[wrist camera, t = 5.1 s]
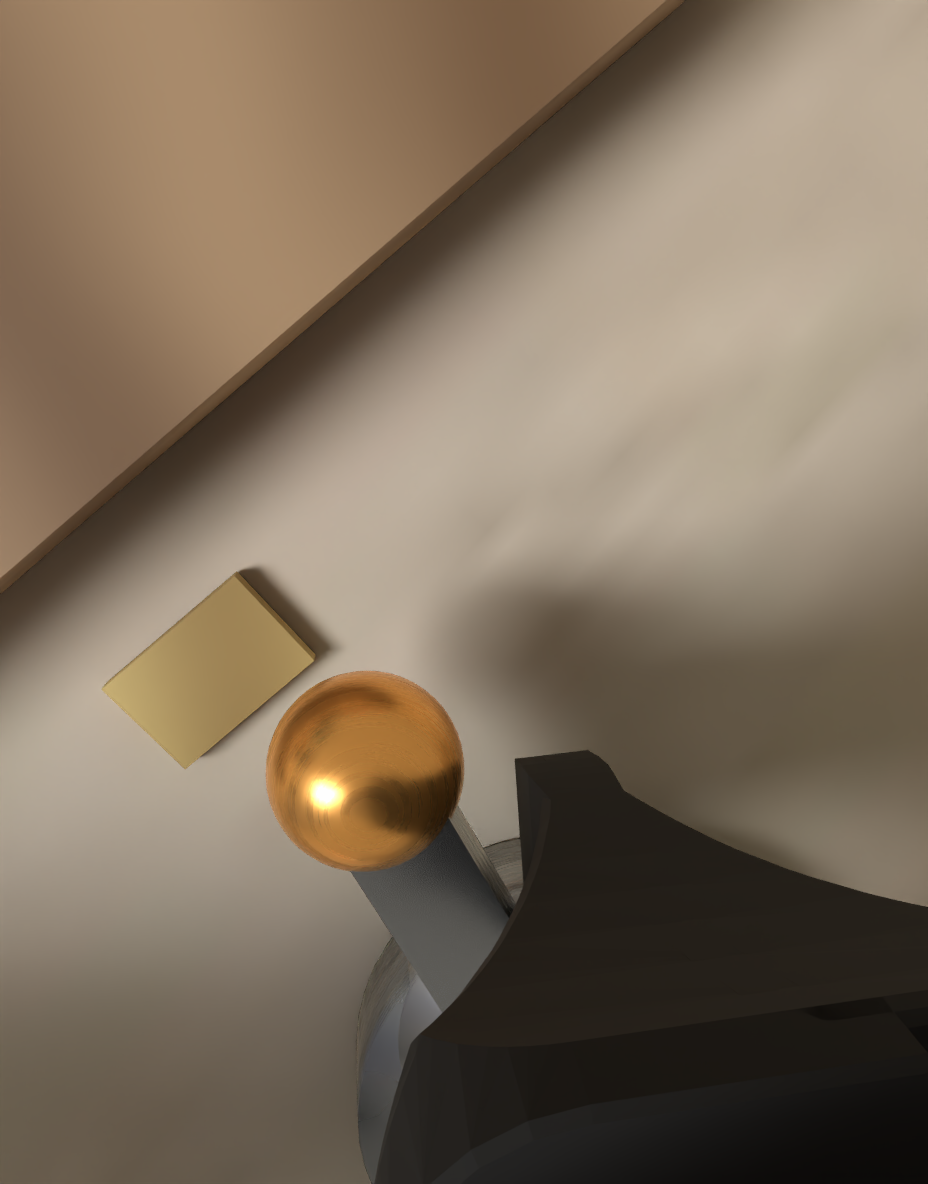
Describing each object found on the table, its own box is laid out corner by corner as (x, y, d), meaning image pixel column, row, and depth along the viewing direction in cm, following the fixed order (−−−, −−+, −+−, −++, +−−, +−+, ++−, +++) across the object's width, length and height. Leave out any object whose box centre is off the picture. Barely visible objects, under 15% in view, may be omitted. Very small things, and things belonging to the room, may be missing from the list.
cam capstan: (1029, 1020, 16) (1263, 1238, 12) (328, 1404, 16) (323, 1754, 12) (767, 375, 13) (967, 373, 9) (-124, 860, 13) (-346, 1090, 8)
